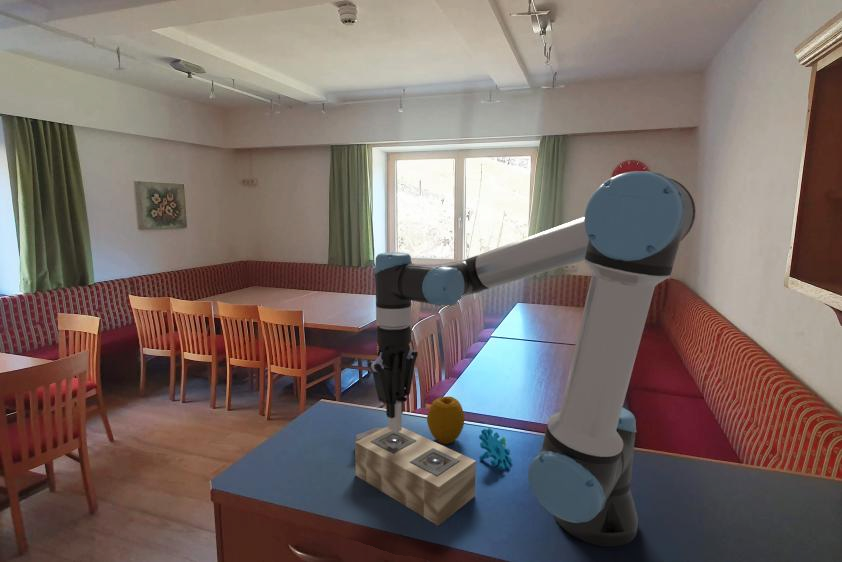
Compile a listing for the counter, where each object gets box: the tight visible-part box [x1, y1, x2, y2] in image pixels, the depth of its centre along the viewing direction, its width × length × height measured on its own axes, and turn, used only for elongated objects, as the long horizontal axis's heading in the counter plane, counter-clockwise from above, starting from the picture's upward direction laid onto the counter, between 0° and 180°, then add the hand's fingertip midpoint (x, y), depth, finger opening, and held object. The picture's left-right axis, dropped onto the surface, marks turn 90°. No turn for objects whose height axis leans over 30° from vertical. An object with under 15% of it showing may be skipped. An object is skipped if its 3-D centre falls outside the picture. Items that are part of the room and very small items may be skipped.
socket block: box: [354, 426, 477, 526], centre depth 96 cm, size 24×12×8 cm, turn 48°
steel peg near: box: [426, 455, 444, 470], centre depth 92 cm, size 4×4×8 cm
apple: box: [426, 396, 466, 445], centre depth 115 cm, size 10×10×12 cm
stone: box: [354, 427, 384, 443], centre depth 110 cm, size 10×8×6 cm
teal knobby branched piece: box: [478, 428, 513, 471], centre depth 106 cm, size 11×6×10 cm
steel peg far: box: [386, 436, 402, 449], centre depth 100 cm, size 4×4×8 cm
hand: (395, 429), depth 98 cm, fingers closed
